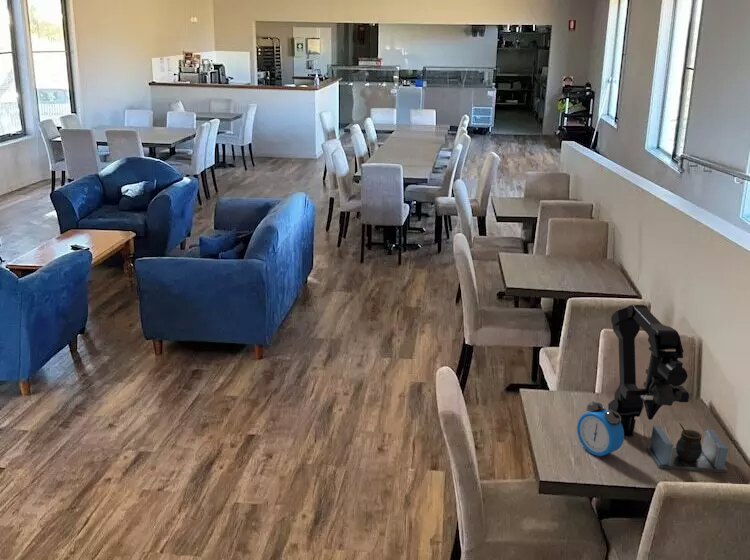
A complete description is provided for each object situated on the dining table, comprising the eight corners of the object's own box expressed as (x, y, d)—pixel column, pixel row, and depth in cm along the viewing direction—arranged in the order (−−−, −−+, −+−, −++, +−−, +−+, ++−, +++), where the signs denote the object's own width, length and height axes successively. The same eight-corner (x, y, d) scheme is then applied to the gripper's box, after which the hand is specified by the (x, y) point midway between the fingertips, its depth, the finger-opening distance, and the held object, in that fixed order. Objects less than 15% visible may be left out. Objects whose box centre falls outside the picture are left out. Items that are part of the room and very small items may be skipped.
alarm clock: (573, 444, 230) (580, 400, 225) (587, 439, 233) (593, 395, 229) (608, 464, 220) (615, 418, 215) (621, 459, 223) (629, 413, 219)
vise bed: (658, 468, 219) (663, 444, 217) (646, 448, 230) (650, 425, 227) (727, 472, 219) (732, 448, 217) (712, 453, 230) (717, 429, 227)
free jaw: (661, 464, 219) (665, 444, 217) (649, 445, 229) (653, 425, 227) (670, 465, 219) (674, 444, 217) (657, 445, 229) (661, 426, 227)
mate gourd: (698, 466, 219) (703, 436, 216) (671, 458, 223) (676, 428, 220) (702, 456, 225) (708, 426, 222) (675, 448, 229) (681, 419, 226)
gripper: (637, 381, 208) (628, 431, 212) (703, 383, 209) (692, 433, 214) (623, 365, 218) (615, 413, 223) (685, 367, 219) (676, 415, 224)
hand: (649, 419), depth 221 cm, fingers closed
